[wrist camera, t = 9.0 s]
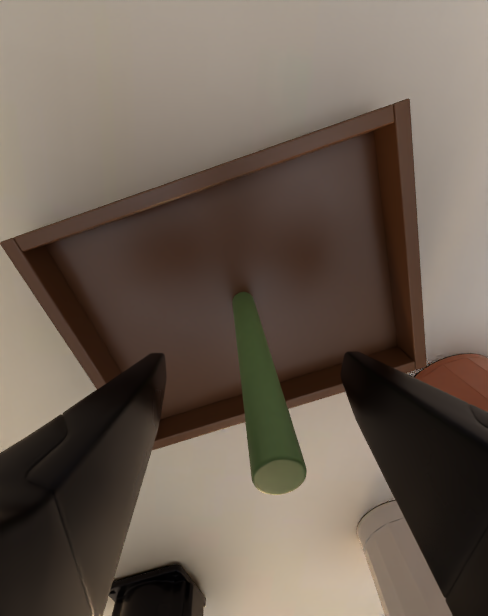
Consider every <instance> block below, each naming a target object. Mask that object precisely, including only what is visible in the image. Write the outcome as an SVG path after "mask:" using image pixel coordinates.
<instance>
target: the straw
mask: <svg viewBox="0 0 488 616" xmlns="http://www.w3.org/2000/svg"><path fill="white" fill-rule="evenodd" d="M232 304H233V313H234V322H235V331H236V340H237V350H238V359H239V368H240V377H241V386H242V395H243V404H244V413H245V422H246V431H247V440H248V449H249V458H250V467H251V476H252V481H253V483H254V485H255V487H256V488H257V489H258V490H260V491H261V492H263V493H266V494H271V495H280V494H285V493H289V492H291V491H293V490H295V489H296V488H298V487H299V486H300V485H301V484H302V483H303V482H304V480H305V477H306V466H305V462H304V459H303V456H302V453H301V450H300V446H299V443H298V440H297V437H296V433H295V430H294V427H293V424H292V421H291V417H290V414H289V411H288V408H287V405H286V401H285V398H284V395H283V392H282V389H281V385H280V382H279V379H278V376H277V373H276V369H275V366H274V363H273V360H272V356H271V353H270V350H269V347H268V344H267V340H266V337H265V334H264V331H263V328H262V324H261V321H260V318H259V315H258V312H257V308H256V305H255V302H254V299H253V297H252V295H250V294H249V293H247V292H240V293H238V294H236V295H235V296H234V298H233V301H232Z"/></svg>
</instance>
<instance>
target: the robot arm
mask: <svg viewBox="0 0 488 616" xmlns="http://www.w3.org/2000/svg"><path fill="white" fill-rule="evenodd" d="M166 380H167V373H166V360H165V355H164V353H150V354H149V355H147V356H146V357H144V358H143V359H141V360H140V361H138V362H137V363H135V364H134V365H132V366H131V367H130V368H128V369H127V370H125V371H124V372H122V373H121V374H119V375H118V376H116V377H115V378H113V379H112V380H110V381H109V382H108V383H106V384H105V385H103V386H102V387H100V388H99V389H97V390H96V391H94V392H93V393H91V394H90V395H88V396H87V397H85V398H84V399H83V400H81V401H80V402H78V403H77V404H75V405H74V406H72V407H71V408H69V409H68V410H66V411H65V412H64V413H63V415H59V416H57V417H56V418H55V419H53V420H52V421H50V422H49V423H47V424H46V425H44V426H43V427H41V428H40V429H38V430H36V431H35V432H33V433H32V434H30V435H29V436H27V437H26V438H24V439H23V440H21V441H19V442H18V443H16V444H14V445H13V446H11V447H9V448H8V449H6V450H4V451H3V452H1V453H0V616H103V613H104V609H105V606H106V602H107V599H108V596H110V597H111V598H112V599H113V600H114V601H115V605H114V609H113V612H112V616H203V607H205V605H206V598H205V597H204V596H203V594H202V593H201V592H200V590H199V589H198V588H197V586H196V585H195V584H194V582H193V581H192V580H191V578H190V577H189V576H188V574H187V573H186V572H185V570H184V569H183V568H182V567H181V566H180V565H173V566H169V567H165V568H162V569H158V570H155V571H151V572H148V573H144V574H141V575H137V576H134V577H130V578H127V579H123V580H120V581H116V582H113V579H114V576H115V572H116V569H117V566H118V562H119V559H120V555H121V552H122V549H123V545H124V542H125V539H126V535H127V532H128V529H129V525H130V522H131V518H132V515H133V512H134V508H135V505H136V502H137V498H138V495H139V492H140V488H141V485H142V482H143V478H144V475H145V471H146V468H147V465H148V461H149V458H150V455H151V451H152V448H153V445H154V441H155V438H156V435H157V431H158V427H159V422H160V417H161V411H162V405H163V399H164V393H165V387H166ZM341 380H342V383H343V386H344V389H345V391H346V394H347V397H348V400H349V402H350V405H351V408H352V411H353V413H354V416H355V418H356V421H357V423H358V425H359V427H360V429H361V431H362V433H363V435H364V437H365V439H366V441H367V443H368V445H369V447H370V449H371V451H372V453H373V455H374V457H375V459H376V461H377V463H378V465H379V467H380V469H381V471H382V473H383V476H384V478H385V480H386V482H387V484H388V486H389V488H390V490H391V492H392V494H393V496H394V498H395V500H396V502H397V504H398V506H399V508H400V510H401V512H402V514H403V516H404V518H405V520H406V522H407V524H408V526H409V528H410V530H411V532H412V534H413V536H414V538H415V540H416V542H417V544H418V546H419V548H420V550H421V552H422V554H423V556H424V558H425V560H426V562H427V564H428V566H429V568H430V570H431V573H432V575H433V577H434V579H435V581H436V583H437V585H438V587H439V589H440V591H441V593H442V595H443V597H444V598H446V599H445V601H446V603H447V605H448V607H449V609H450V611H451V613H452V616H488V412H487V411H485V410H483V409H480V408H478V407H476V406H474V405H472V404H468V403H467V402H465V401H463V400H461V399H459V398H457V397H455V396H453V395H450V394H448V393H446V392H444V391H442V390H440V389H438V388H435V387H433V386H431V385H429V384H427V383H425V382H423V381H420V380H418V379H416V378H414V377H412V376H410V375H408V374H406V373H403V372H401V371H399V370H397V369H395V368H393V367H391V366H388V365H386V364H384V363H382V362H380V361H378V360H376V359H373V358H371V357H369V356H367V355H365V354H363V353H361V352H358V351H348V352H346V353H345V355H344V358H343V363H342V368H341Z"/></svg>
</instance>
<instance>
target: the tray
mask: <svg viewBox="0 0 488 616" xmlns="http://www.w3.org/2000/svg"><path fill="white" fill-rule="evenodd" d="M0 244H1V246H2V247H3V249H4V250H5V252H6V253H7V255H8V256H9V258H10V259H11V261H12V262H13V264H14V265H15V267H16V268H17V270H18V271H19V273H20V274H21V276H22V277H23V279H24V280H25V282H26V283H27V285H28V286H29V288H30V289H31V291H32V292H33V294H34V295H35V297H36V298H37V300H38V301H39V303H40V304H41V306H42V307H43V309H44V310H45V312H46V313H47V315H48V316H49V318H50V319H51V321H52V322H53V324H54V325H55V327H56V328H57V330H58V331H59V333H60V334H61V336H62V337H63V339H64V340H65V342H66V343H67V345H68V346H69V348H70V349H71V351H72V352H73V354H74V355H75V357H76V358H77V360H78V361H79V363H80V364H81V366H82V367H83V369H84V370H85V372H86V373H87V375H88V376H89V378H90V379H91V381H92V382H93V384H94V385H95V387H96V388H97V389H99V388H100V387H102V386H103V385H105V384H106V383H108V382H109V381H110V380H112V379H113V378H115V377H116V376H118V375H119V374H121V373H122V372H124V371H125V370H127V369H128V368H130V367H131V366H132V365H134V364H135V363H137V362H138V361H140V360H141V359H143V358H144V357H146V356H147V355H149V354H150V353H164V355H165V360H166V373H167V380H166V387H165V393H164V399H163V405H162V411H161V417H160V422H159V427H158V431H157V435H156V438H155V441H154V445H153V448H152V450H155V449H158V448H161V447H165V446H168V445H171V444H174V443H178V442H181V441H184V440H188V439H191V438H194V437H197V436H201V435H204V434H207V433H211V432H214V431H217V430H220V429H224V428H227V427H230V426H233V425H237V424H240V423H243V422H245V413H244V404H243V395H242V386H241V377H240V368H239V359H238V350H237V340H236V331H235V322H234V313H233V304H232V301H233V298H234V296H235V295H236V294H238V293H240V292H247V293H249V294H250V295H252V297H253V299H254V302H255V305H256V308H257V312H258V315H259V318H260V321H261V324H262V328H263V331H264V334H265V337H266V340H267V344H268V347H269V350H270V353H271V356H272V360H273V363H274V366H275V369H276V373H277V376H278V379H279V382H280V385H281V389H282V392H283V395H284V398H285V401H286V405H287V408H288V409H289V408H293V407H296V406H299V405H302V404H306V403H309V402H312V401H315V400H319V399H322V398H325V397H329V396H332V395H335V394H338V393H342V392H345V389H344V386H343V383H342V380H341V368H342V363H343V358H344V355H345V353H346V352H348V351H358V352H361V353H363V354H365V355H367V356H369V357H371V358H373V359H376V360H378V361H380V362H382V363H384V364H386V365H388V366H391V367H393V368H395V369H397V370H399V371H401V372H403V373H407V372H411V371H414V370H415V369H416V370H417V369H421V368H424V367H426V350H425V334H424V319H423V303H422V287H421V271H420V256H419V240H418V224H417V208H416V192H415V177H414V161H413V145H412V129H411V114H410V100H409V99H405V100H402V101H399V102H397V103H394V104H392V105H388V106H385V107H383V108H380V109H377V110H374V111H371V112H368V113H365V114H363V115H360V116H357V117H354V118H351V119H348V120H346V121H343V122H340V123H337V124H334V125H331V126H329V127H326V128H323V129H320V130H317V131H314V132H312V133H309V134H306V135H303V136H300V137H297V138H294V139H292V140H289V141H286V142H283V143H280V144H277V145H275V146H272V147H269V148H266V149H263V150H260V151H258V152H255V153H252V154H249V155H246V156H243V157H240V158H238V159H235V160H232V161H229V162H226V163H223V164H221V165H218V166H215V167H212V168H209V169H206V170H204V171H201V172H198V173H195V174H192V175H189V176H187V177H184V178H181V179H178V180H175V181H172V182H169V183H167V184H164V185H161V186H158V187H155V188H152V189H150V190H147V191H144V192H141V193H138V194H135V195H133V196H130V197H127V198H124V199H121V200H118V201H116V202H113V203H110V204H107V205H104V206H101V207H98V208H96V209H93V210H90V211H87V212H84V213H81V214H79V215H76V216H73V217H70V218H67V219H64V220H62V221H59V222H56V223H53V224H50V225H47V226H44V227H42V228H39V229H36V230H33V231H30V232H27V233H25V234H22V235H19V236H16V237H14V238H10V239H8V240H5V241H2V242H1V243H0Z"/></svg>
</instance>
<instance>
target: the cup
mask: <svg viewBox="0 0 488 616" xmlns="http://www.w3.org/2000/svg"><path fill="white" fill-rule="evenodd" d="M357 536H358V539H359V541H360V544H361V546H362V549H363V551H364V554H365V556H366V559H367V562H368V565H369V568H370V571H371V574H372V577H373V580H374V583H375V586H376V589H377V592H378V595H379V598H380V601H381V604H382V607H383V610H384V613H385V616H452V613H451V611H450V609H449V607H448V605H447V603H446V601H445V599H446V598H444V597H443V595H442V593H441V591H440V589H439V587H438V585H437V583H436V581H435V579H434V577H433V575H432V573H431V570H430V568H429V566H428V564H427V562H426V560H425V558H424V556H423V554H422V552H421V550H420V548H419V546H418V544H417V542H416V540H415V538H414V536H413V534H412V532H411V530H410V528H409V526H408V524H407V522H406V520H405V518H404V516H403V514H402V512H401V510H400V508H399V506H398V504H397V502H396V501H392V502H388V503H385V504H383V505H380V506H378V507H376V508H374V509H373V510H371V511H370V512H369V513H367V514H366V515H365V516H364V517H363V518H362V520H361V521H360V522H359V524H358V527H357Z"/></svg>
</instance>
